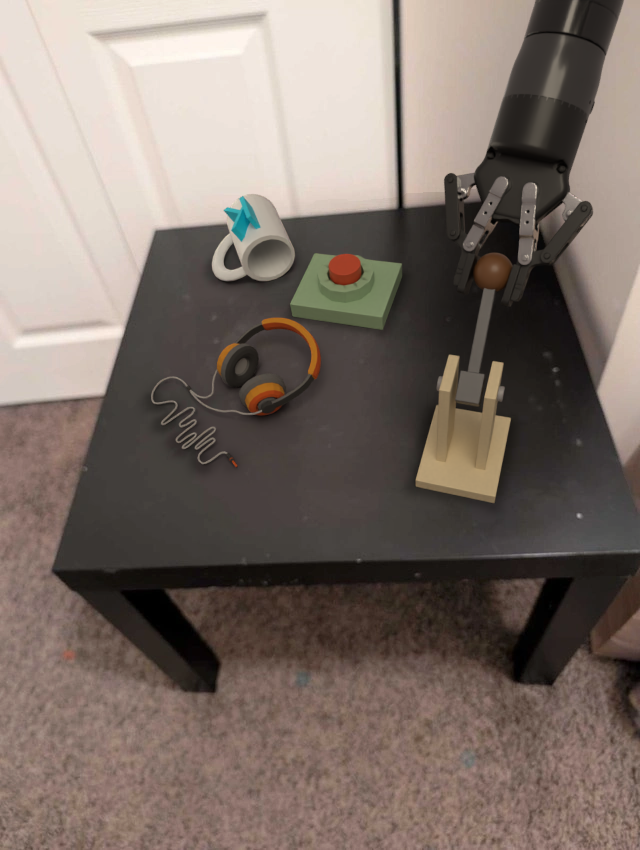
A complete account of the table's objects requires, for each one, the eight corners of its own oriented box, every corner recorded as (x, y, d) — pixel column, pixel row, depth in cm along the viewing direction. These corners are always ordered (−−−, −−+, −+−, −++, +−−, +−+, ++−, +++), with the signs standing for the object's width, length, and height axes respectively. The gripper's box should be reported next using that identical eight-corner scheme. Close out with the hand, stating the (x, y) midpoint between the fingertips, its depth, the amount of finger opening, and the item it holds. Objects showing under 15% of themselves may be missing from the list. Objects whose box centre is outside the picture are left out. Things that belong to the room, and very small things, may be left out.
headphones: (129, 384, 78) (262, 279, 80) (152, 406, 83) (278, 306, 84) (195, 481, 69) (344, 361, 71) (217, 499, 74) (356, 386, 75)
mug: (245, 164, 90) (267, 214, 83) (281, 210, 97) (304, 259, 90) (178, 216, 93) (193, 268, 85) (217, 256, 100) (235, 308, 92)
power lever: (477, 257, 64) (476, 245, 61) (516, 261, 63) (516, 249, 60) (449, 402, 64) (446, 398, 60) (487, 408, 63) (486, 404, 59)
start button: (365, 266, 85) (364, 255, 83) (356, 287, 82) (355, 276, 81) (335, 262, 86) (333, 251, 84) (325, 283, 84) (324, 272, 82)
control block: (402, 276, 88) (401, 252, 85) (382, 330, 83) (381, 306, 79) (316, 265, 91) (312, 242, 88) (292, 316, 86) (287, 293, 83)
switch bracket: (436, 411, 74) (439, 330, 64) (509, 424, 72) (525, 342, 62) (415, 486, 69) (415, 411, 59) (494, 503, 67) (508, 427, 56)
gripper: (458, 79, 57) (401, 277, 62) (630, 105, 52) (555, 319, 56) (476, 106, 64) (424, 283, 68) (630, 131, 59) (563, 321, 63)
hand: (484, 298), depth 62 cm, fingers closed on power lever, 3 cm apart
